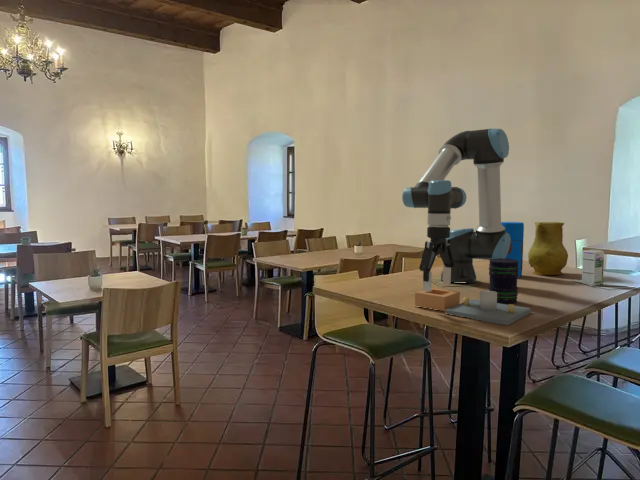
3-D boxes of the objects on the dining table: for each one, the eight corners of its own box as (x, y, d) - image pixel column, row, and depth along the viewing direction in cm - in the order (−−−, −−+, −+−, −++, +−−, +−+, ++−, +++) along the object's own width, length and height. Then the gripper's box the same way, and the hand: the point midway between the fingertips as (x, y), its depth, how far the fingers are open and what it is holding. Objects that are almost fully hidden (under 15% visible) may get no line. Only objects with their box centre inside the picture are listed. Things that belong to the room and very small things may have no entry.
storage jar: (523, 303, 167) (525, 261, 165) (499, 305, 164) (501, 262, 162) (505, 297, 176) (506, 257, 175) (482, 299, 173) (483, 259, 172)
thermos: (519, 278, 215) (521, 223, 213) (495, 276, 221) (496, 222, 218) (523, 275, 224) (525, 222, 222) (499, 273, 230) (501, 221, 228)
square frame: (414, 306, 163) (415, 292, 162) (430, 301, 171) (431, 287, 170) (444, 312, 155) (444, 297, 155) (459, 306, 164) (459, 291, 163)
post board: (444, 314, 153) (445, 292, 152) (471, 303, 167) (472, 283, 167) (507, 325, 139) (508, 302, 139) (530, 312, 154) (531, 291, 153)
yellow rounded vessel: (520, 271, 235) (522, 221, 232) (555, 270, 237) (557, 220, 234) (539, 277, 218) (542, 223, 215) (577, 276, 220) (580, 222, 217)
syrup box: (593, 285, 198) (595, 251, 196) (581, 283, 203) (582, 249, 202) (603, 284, 200) (604, 250, 198) (590, 282, 205) (591, 249, 204)
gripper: (430, 228, 149) (428, 294, 150) (465, 225, 167) (463, 284, 169) (409, 227, 154) (408, 291, 155) (446, 224, 172) (444, 282, 174)
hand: (437, 288), depth 162 cm, fingers open, 13 cm apart
